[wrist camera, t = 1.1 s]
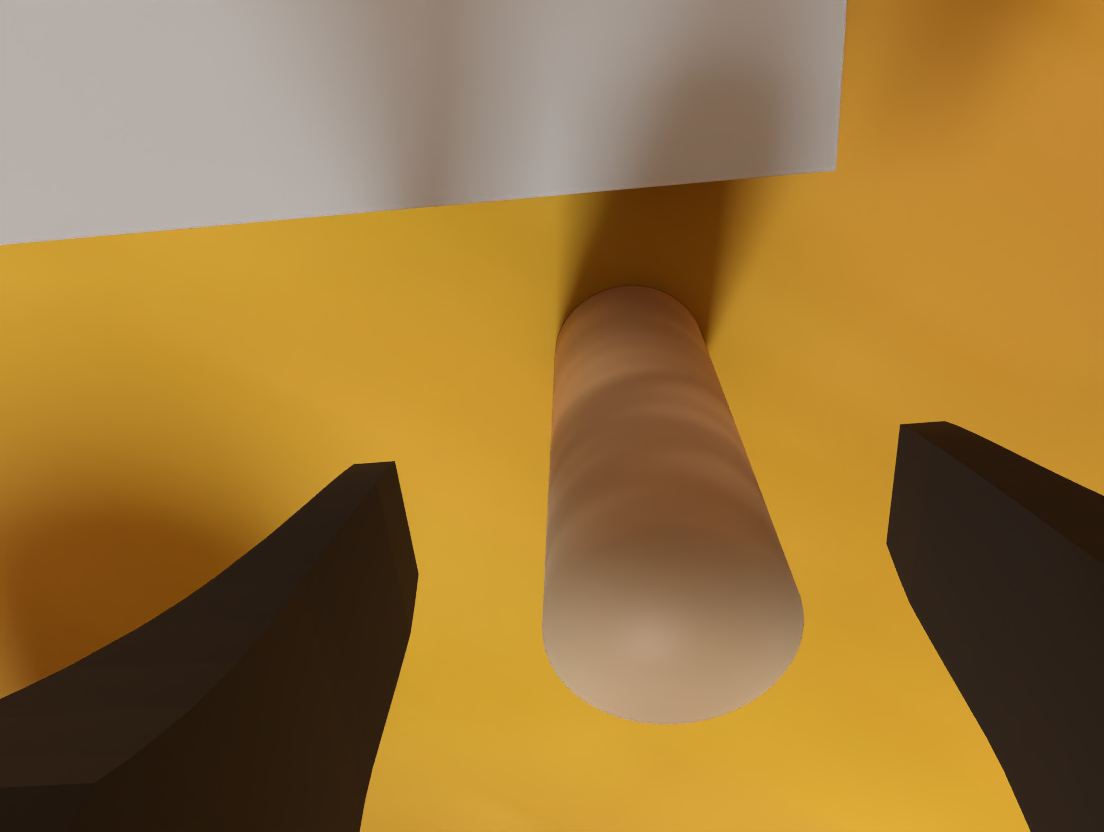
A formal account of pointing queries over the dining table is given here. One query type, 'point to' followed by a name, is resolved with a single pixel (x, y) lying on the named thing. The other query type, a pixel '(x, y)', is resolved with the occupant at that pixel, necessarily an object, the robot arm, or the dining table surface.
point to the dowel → (657, 524)
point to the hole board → (395, 104)
